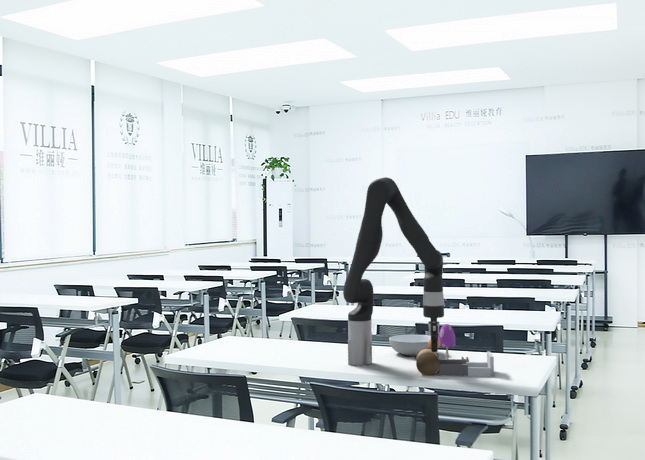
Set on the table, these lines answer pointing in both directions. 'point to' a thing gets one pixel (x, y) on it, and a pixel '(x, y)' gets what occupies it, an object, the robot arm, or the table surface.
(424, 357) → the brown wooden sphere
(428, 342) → the ball
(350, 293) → the robot arm
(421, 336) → the serving bowl
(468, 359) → the tee
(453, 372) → the grey piece
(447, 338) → the toy
